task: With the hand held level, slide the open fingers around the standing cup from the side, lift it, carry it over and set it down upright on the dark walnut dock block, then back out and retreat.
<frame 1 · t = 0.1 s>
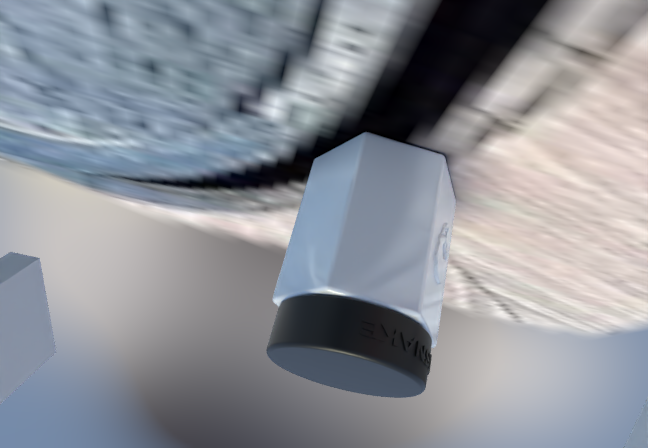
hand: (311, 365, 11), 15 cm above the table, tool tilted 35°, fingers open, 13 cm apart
jar: (386, 175, 32), on the table
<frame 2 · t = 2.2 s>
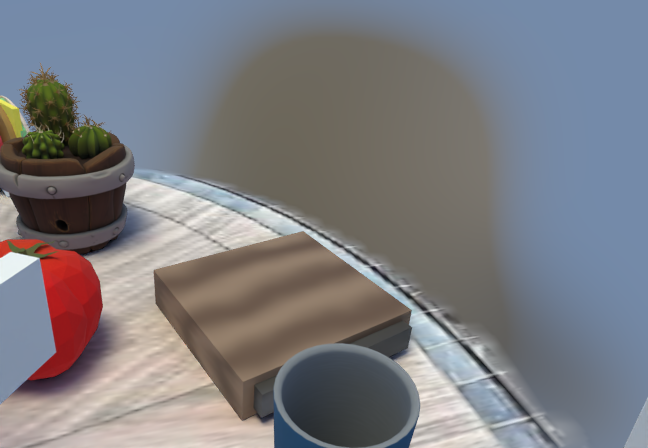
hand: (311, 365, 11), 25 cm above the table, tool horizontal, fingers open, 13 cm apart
dock: (277, 323, 53), on the table
tomato: (41, 353, 46), on the table
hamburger: (1, 183, 76), on the table
flowerpot: (77, 237, 65), on the table
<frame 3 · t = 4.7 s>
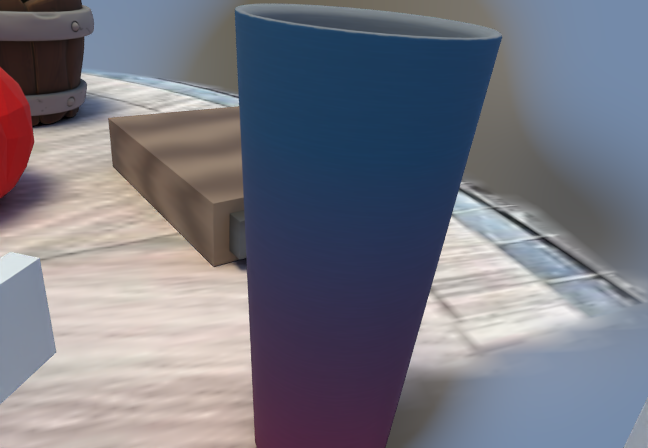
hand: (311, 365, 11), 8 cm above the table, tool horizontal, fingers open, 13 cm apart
cup: (319, 437, 20), on the table
dock: (265, 186, 42), on the table
flowerpot: (26, 115, 54), on the table
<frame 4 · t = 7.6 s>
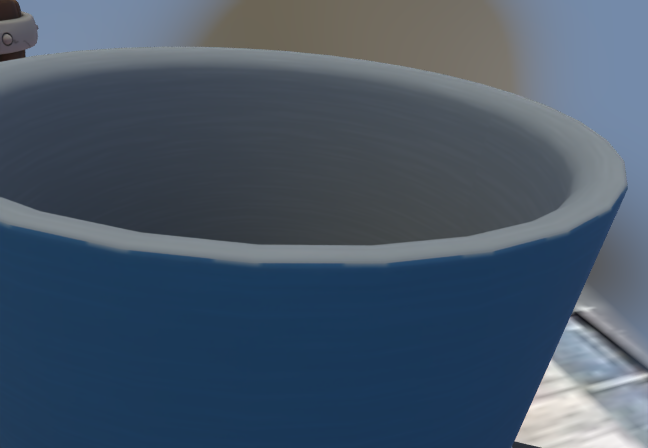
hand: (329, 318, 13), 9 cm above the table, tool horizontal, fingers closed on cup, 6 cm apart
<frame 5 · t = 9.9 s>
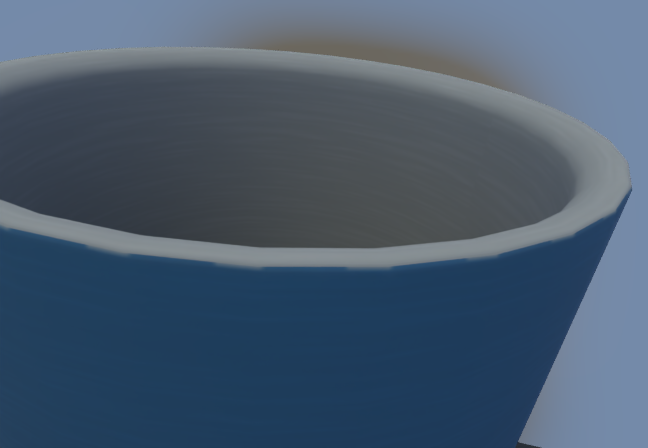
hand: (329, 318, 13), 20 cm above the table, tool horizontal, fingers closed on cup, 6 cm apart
when the fingers open (14 cm above the table, at t = 12.6 s): cup drops 1 cm, resting on dock.
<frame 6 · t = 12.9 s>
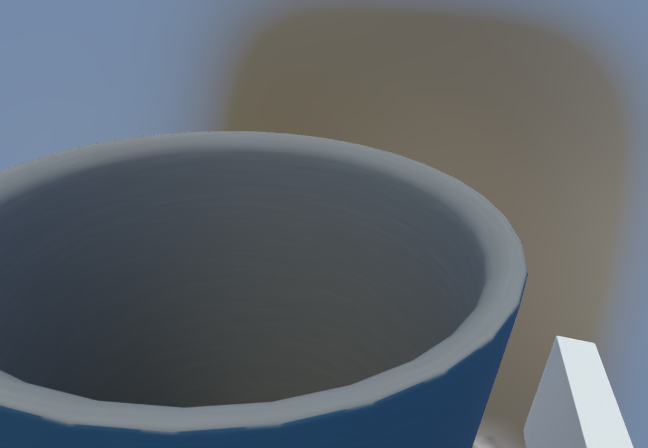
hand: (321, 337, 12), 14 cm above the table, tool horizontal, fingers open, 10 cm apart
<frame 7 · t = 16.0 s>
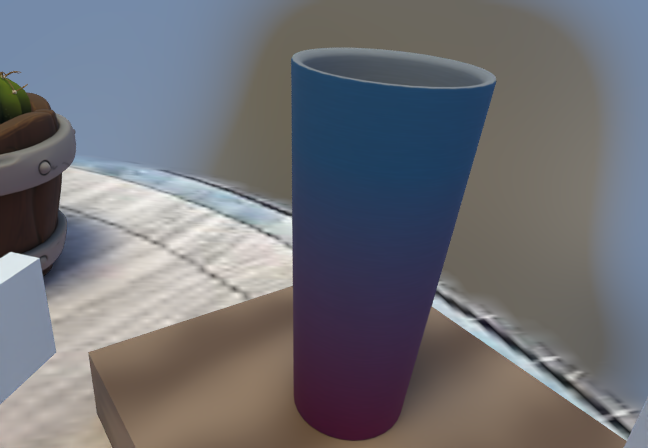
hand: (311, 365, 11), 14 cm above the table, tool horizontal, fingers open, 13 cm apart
cup: (347, 400, 24), point 4 cm above the table, touching dock
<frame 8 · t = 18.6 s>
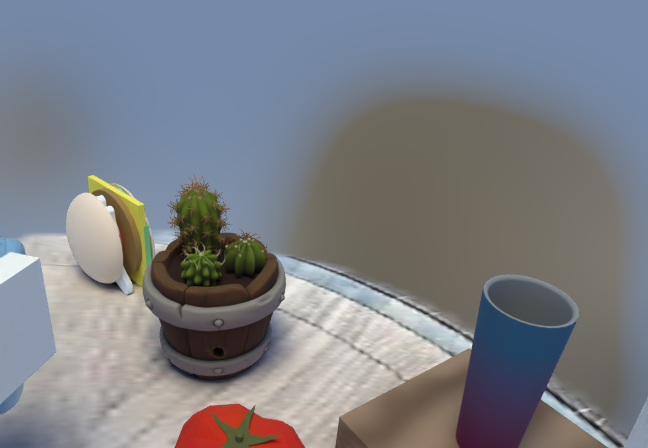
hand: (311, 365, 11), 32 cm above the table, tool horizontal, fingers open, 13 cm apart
cup: (484, 444, 46), point 4 cm above the table, touching dock
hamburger: (112, 275, 71), on the table
flowerpot: (216, 350, 59), on the table
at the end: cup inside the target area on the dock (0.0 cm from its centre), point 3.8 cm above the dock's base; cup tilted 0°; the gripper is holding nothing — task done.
